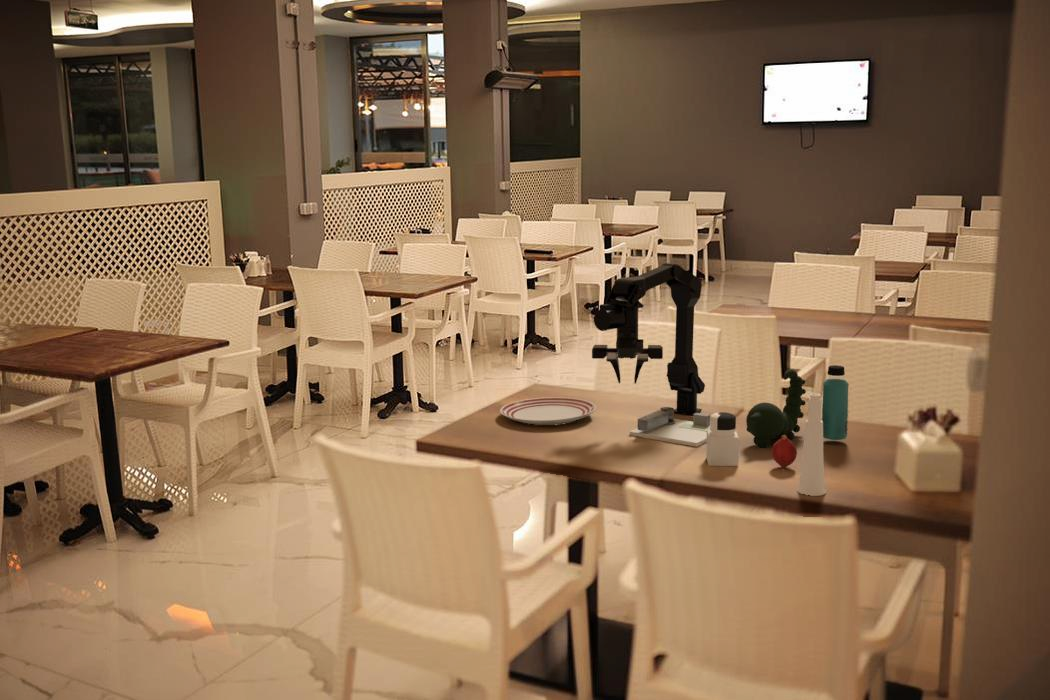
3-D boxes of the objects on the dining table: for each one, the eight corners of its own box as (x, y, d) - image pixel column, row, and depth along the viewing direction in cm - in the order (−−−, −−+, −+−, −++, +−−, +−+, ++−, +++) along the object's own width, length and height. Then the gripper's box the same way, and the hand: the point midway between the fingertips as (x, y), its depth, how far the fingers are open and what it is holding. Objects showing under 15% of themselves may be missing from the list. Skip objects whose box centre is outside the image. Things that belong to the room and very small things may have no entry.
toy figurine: (779, 434, 274) (731, 447, 255) (784, 365, 272) (736, 372, 253) (811, 440, 268) (765, 453, 249) (817, 369, 265) (770, 377, 247)
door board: (663, 420, 284) (663, 406, 283) (728, 431, 272) (728, 416, 271) (629, 435, 270) (629, 420, 269) (696, 446, 258) (697, 431, 257)
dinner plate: (487, 427, 281) (486, 416, 280) (516, 404, 306) (516, 393, 306) (583, 433, 273) (583, 421, 272) (605, 409, 298) (605, 398, 298)
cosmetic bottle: (813, 498, 219) (817, 399, 214) (791, 491, 223) (794, 394, 219) (831, 492, 222) (835, 394, 218) (809, 485, 227) (812, 389, 223)
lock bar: (664, 417, 280) (664, 406, 279) (676, 419, 278) (676, 408, 277) (636, 429, 268) (636, 418, 268) (648, 431, 266) (648, 419, 266)
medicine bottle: (735, 457, 248) (736, 410, 246) (738, 466, 241) (739, 417, 239) (706, 457, 249) (706, 410, 247) (708, 466, 242) (709, 417, 240)
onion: (777, 462, 244) (778, 430, 242) (800, 466, 240) (801, 434, 239) (766, 468, 240) (767, 435, 238) (789, 472, 236) (790, 439, 234)
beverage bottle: (848, 446, 256) (851, 369, 252) (821, 445, 257) (824, 368, 254) (845, 439, 262) (849, 363, 259) (819, 438, 264) (822, 363, 260)
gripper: (590, 331, 263) (590, 389, 266) (663, 331, 260) (662, 390, 263) (593, 324, 274) (593, 380, 277) (662, 324, 271) (662, 381, 274)
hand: (627, 383), depth 272 cm, fingers open, 4 cm apart
